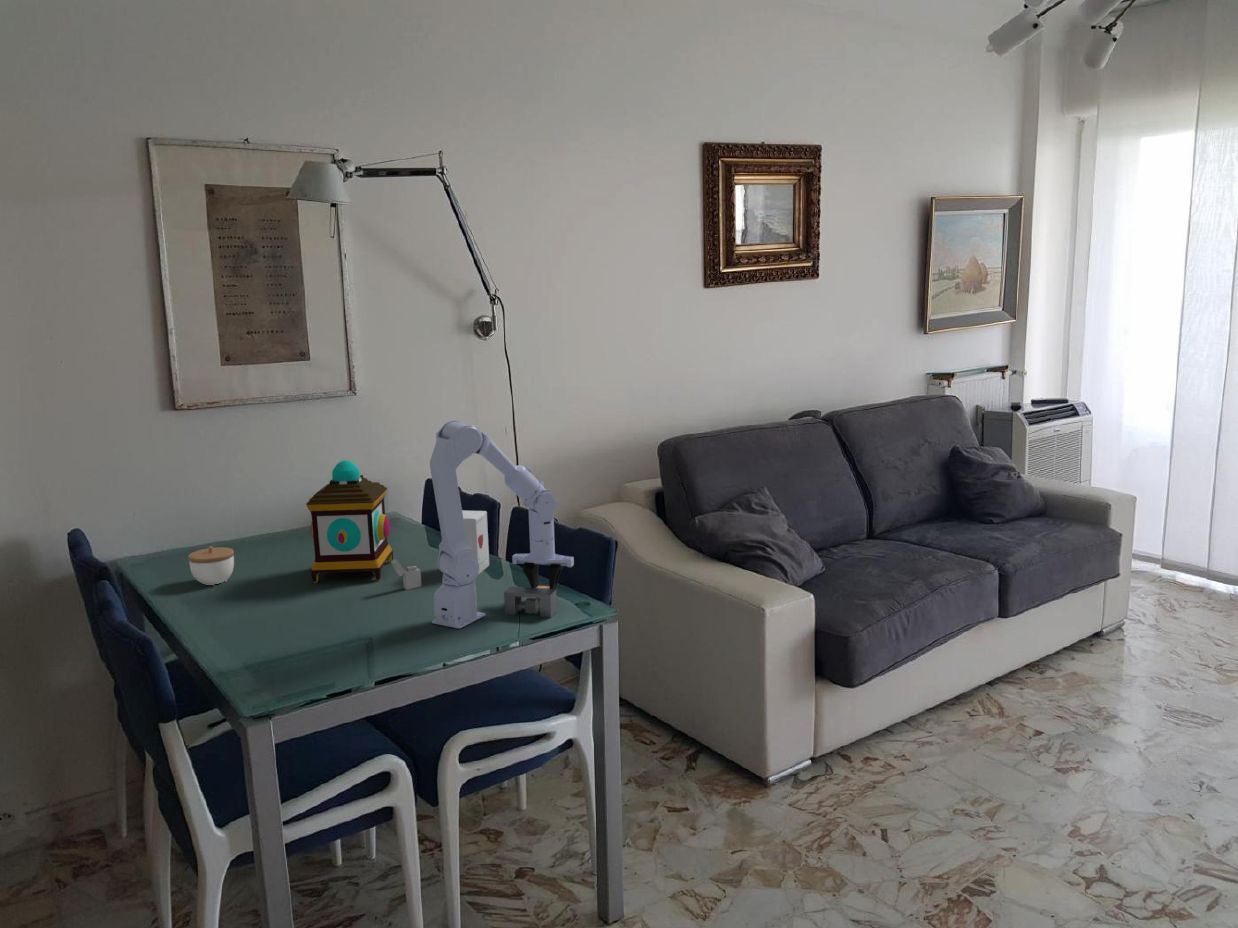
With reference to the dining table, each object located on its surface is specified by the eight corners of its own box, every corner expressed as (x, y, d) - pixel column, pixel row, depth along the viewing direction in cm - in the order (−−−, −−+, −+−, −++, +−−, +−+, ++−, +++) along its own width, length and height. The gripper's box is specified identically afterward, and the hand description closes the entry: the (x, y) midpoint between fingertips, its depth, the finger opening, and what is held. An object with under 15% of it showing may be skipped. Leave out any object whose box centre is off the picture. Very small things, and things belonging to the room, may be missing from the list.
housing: (551, 617, 212) (550, 595, 211) (505, 614, 215) (504, 591, 214) (557, 611, 216) (556, 589, 215) (511, 608, 219) (510, 586, 218)
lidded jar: (198, 591, 237) (194, 555, 235) (186, 581, 245) (182, 546, 243) (242, 582, 243) (238, 546, 241) (228, 573, 251) (225, 538, 250)
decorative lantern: (304, 585, 239) (293, 468, 234) (325, 562, 259) (316, 454, 253) (384, 582, 240) (376, 466, 234) (399, 560, 259) (392, 451, 254)
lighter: (418, 584, 238) (416, 553, 236) (421, 586, 237) (419, 555, 235) (392, 590, 234) (390, 559, 232) (395, 592, 232) (393, 560, 231)
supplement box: (478, 575, 244) (475, 518, 241) (445, 574, 246) (442, 518, 243) (490, 565, 253) (487, 510, 250) (458, 563, 254) (455, 509, 252)
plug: (538, 613, 215) (537, 601, 214) (523, 612, 216) (522, 600, 215) (553, 598, 225) (552, 586, 224) (539, 597, 226) (538, 585, 225)
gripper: (576, 535, 223) (578, 590, 226) (518, 532, 227) (521, 586, 229) (567, 543, 216) (569, 600, 219) (507, 540, 220) (510, 596, 223)
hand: (544, 594), depth 224 cm, fingers closed on plug, 4 cm apart
